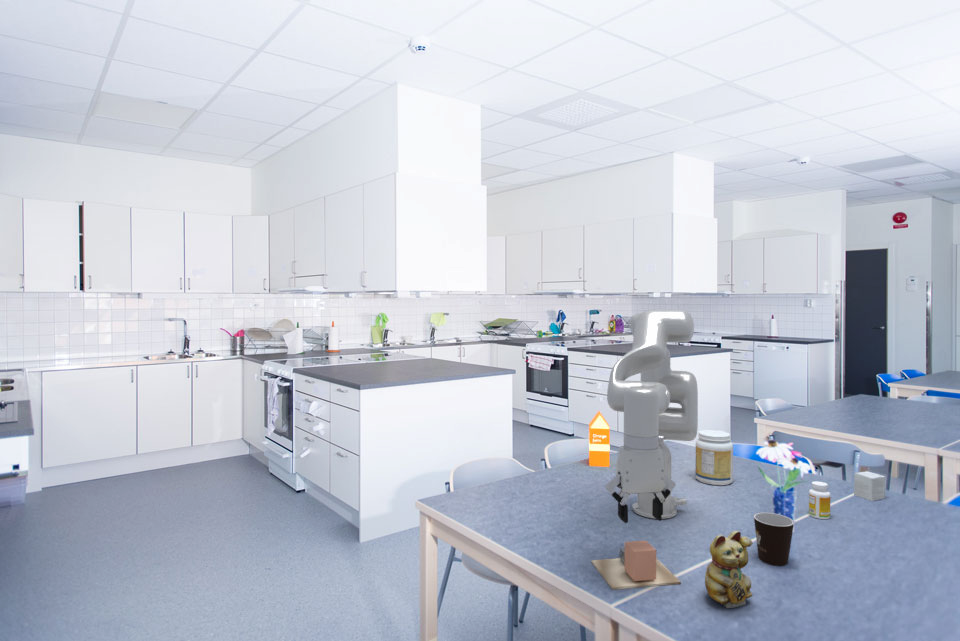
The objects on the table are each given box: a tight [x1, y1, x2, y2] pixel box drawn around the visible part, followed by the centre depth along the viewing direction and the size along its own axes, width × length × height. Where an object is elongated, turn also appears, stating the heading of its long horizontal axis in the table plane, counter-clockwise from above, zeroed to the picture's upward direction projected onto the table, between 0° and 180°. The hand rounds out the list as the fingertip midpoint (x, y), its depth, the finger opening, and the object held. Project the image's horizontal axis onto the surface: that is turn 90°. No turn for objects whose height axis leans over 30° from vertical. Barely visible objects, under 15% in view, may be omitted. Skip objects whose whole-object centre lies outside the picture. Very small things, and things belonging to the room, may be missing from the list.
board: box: [591, 557, 682, 590], centre depth 130 cm, size 16×13×1 cm
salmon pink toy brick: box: [624, 540, 657, 581], centre depth 126 cm, size 5×5×7 cm
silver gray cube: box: [619, 547, 625, 566], centre depth 133 cm, size 3×3×3 cm
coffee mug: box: [753, 512, 795, 567], centre depth 137 cm, size 12×9×10 cm
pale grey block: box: [853, 470, 886, 502], centre depth 180 cm, size 6×6×7 cm
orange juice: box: [588, 410, 611, 468], centre depth 218 cm, size 8×9×20 cm
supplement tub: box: [695, 429, 734, 486], centre depth 196 cm, size 12×12×17 cm
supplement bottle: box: [808, 480, 832, 520], centre depth 163 cm, size 5×5×10 cm
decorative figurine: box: [704, 530, 754, 609], centre depth 118 cm, size 10×8×15 cm
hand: (640, 519), depth 126 cm, fingers open, 7 cm apart
